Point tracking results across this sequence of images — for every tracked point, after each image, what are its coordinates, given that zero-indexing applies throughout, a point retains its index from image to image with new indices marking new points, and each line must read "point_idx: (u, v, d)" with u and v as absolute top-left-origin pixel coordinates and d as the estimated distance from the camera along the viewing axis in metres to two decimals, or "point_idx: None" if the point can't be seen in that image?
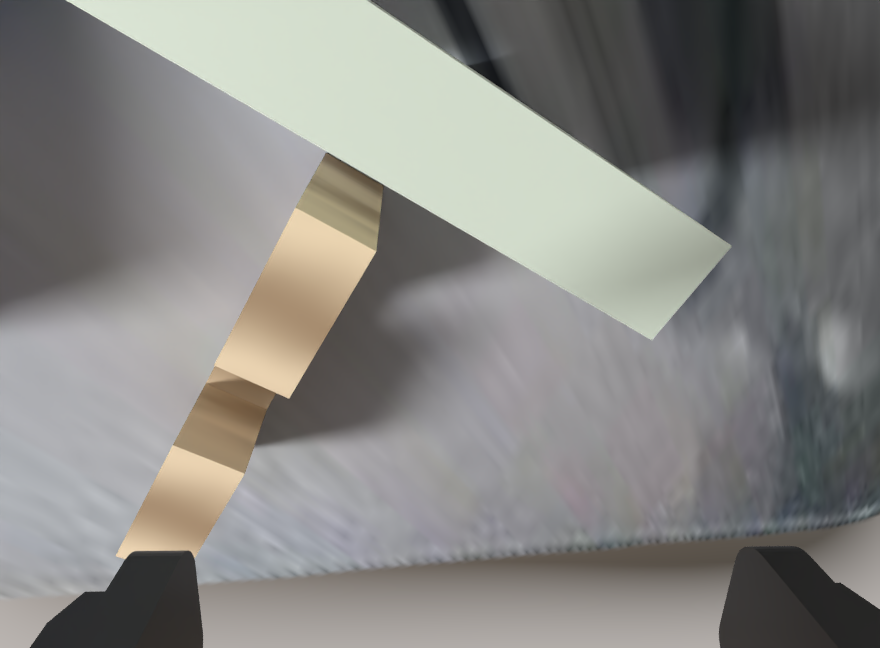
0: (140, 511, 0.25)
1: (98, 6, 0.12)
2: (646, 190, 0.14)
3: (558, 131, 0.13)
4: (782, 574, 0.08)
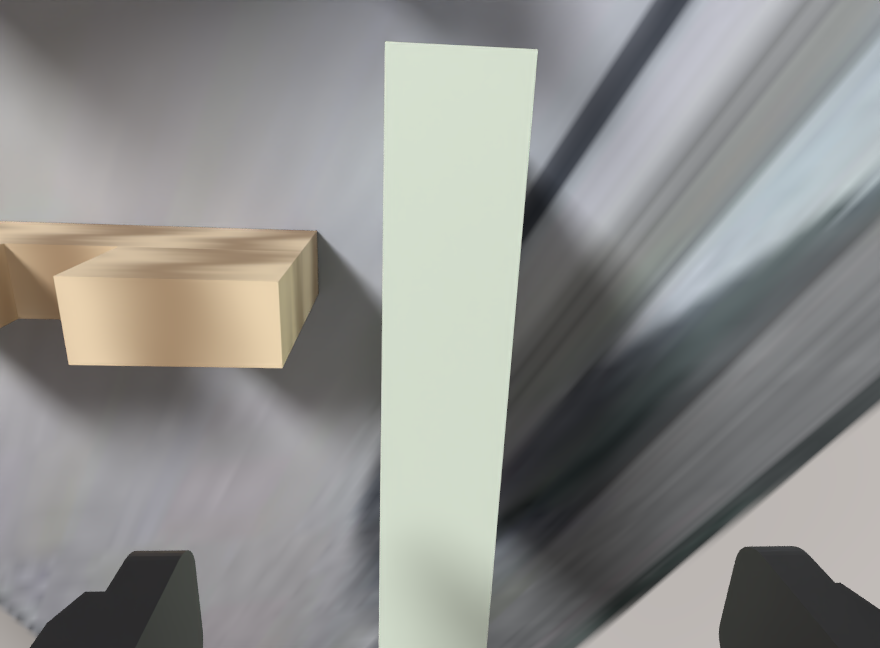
0: None
1: (394, 131, 0.12)
2: (490, 589, 0.16)
3: (496, 508, 0.15)
4: (782, 574, 0.08)
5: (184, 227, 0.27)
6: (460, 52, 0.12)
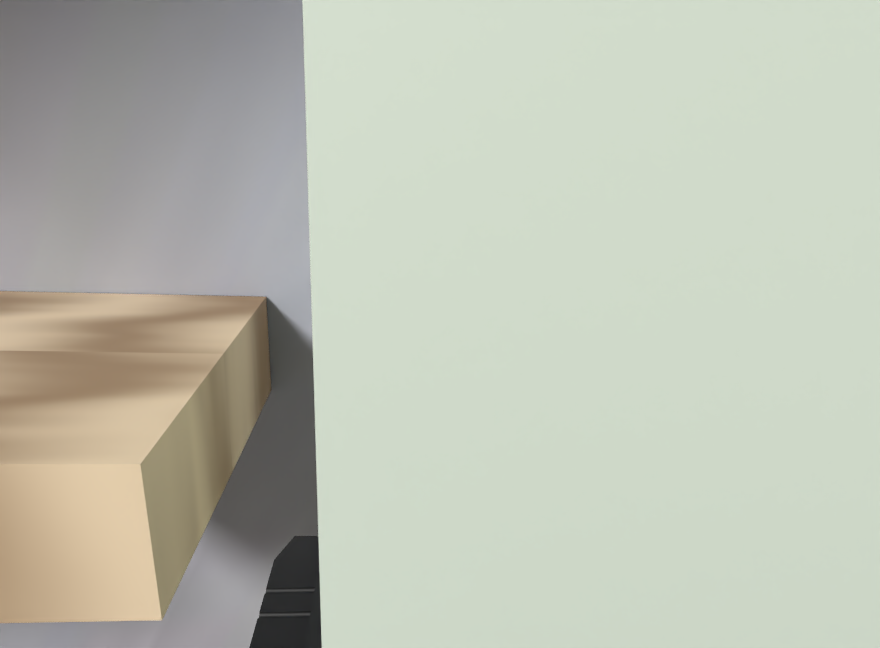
0: None
1: (369, 195, 0.02)
2: None
3: None
4: None
5: (52, 294, 0.17)
6: None
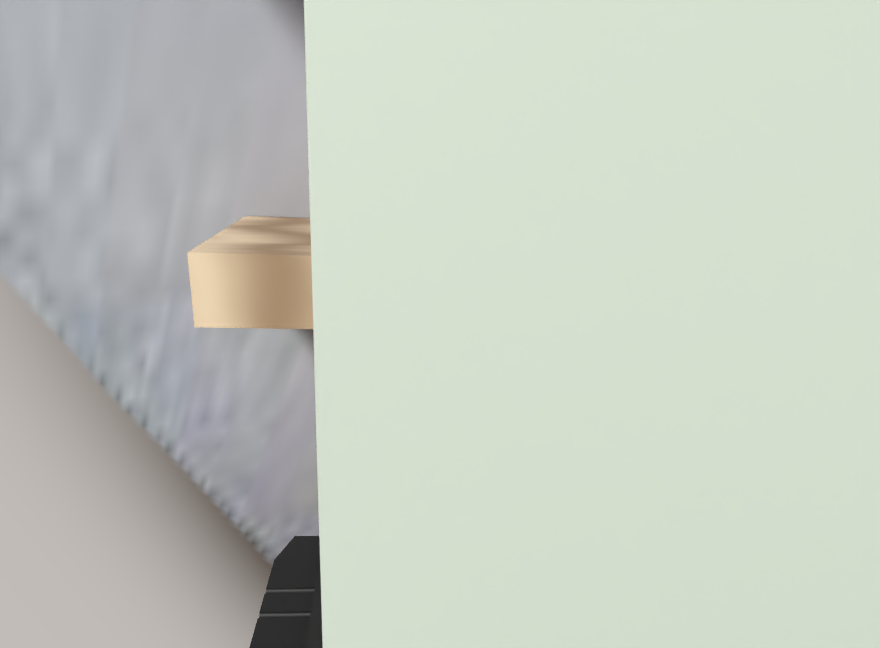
0: (267, 256, 0.23)
1: (370, 200, 0.02)
2: None
3: None
4: None
5: None
6: None
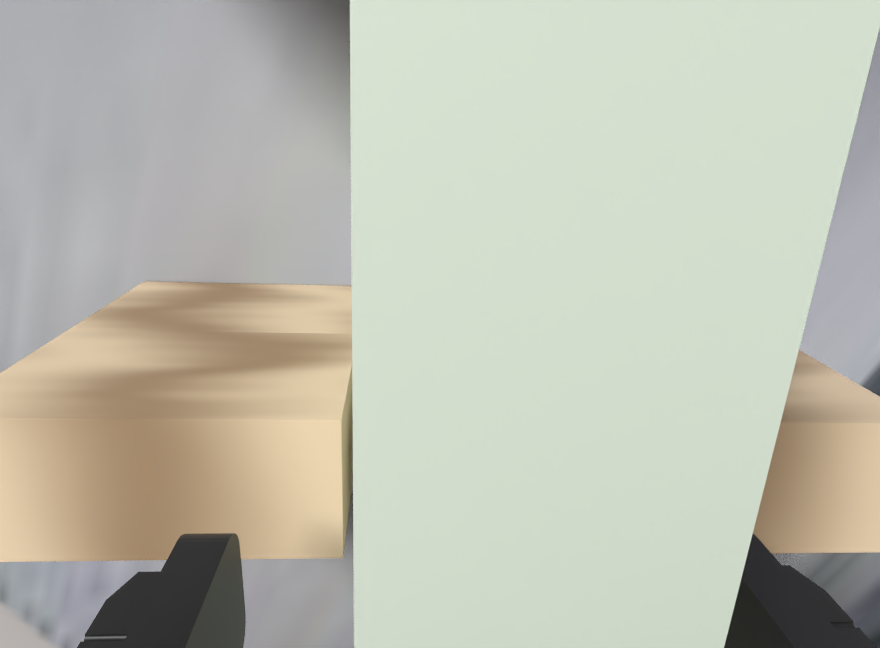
0: (112, 421, 0.10)
1: (387, 165, 0.03)
2: None
3: None
4: None
5: None
6: None
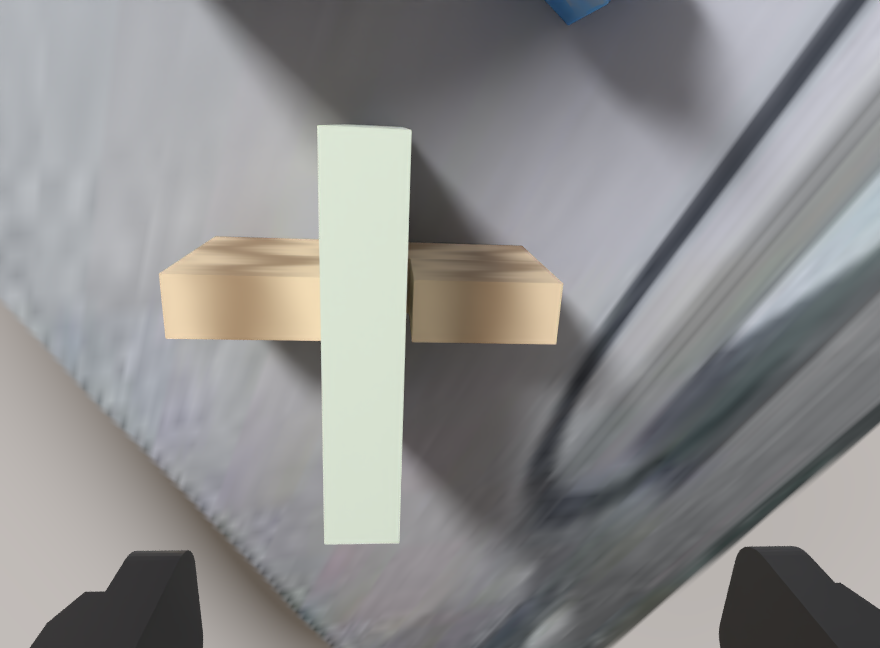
0: (229, 276, 0.26)
1: (324, 178, 0.20)
2: (400, 485, 0.23)
3: (401, 427, 0.23)
4: (783, 574, 0.08)
5: (425, 243, 0.35)
6: (363, 131, 0.19)
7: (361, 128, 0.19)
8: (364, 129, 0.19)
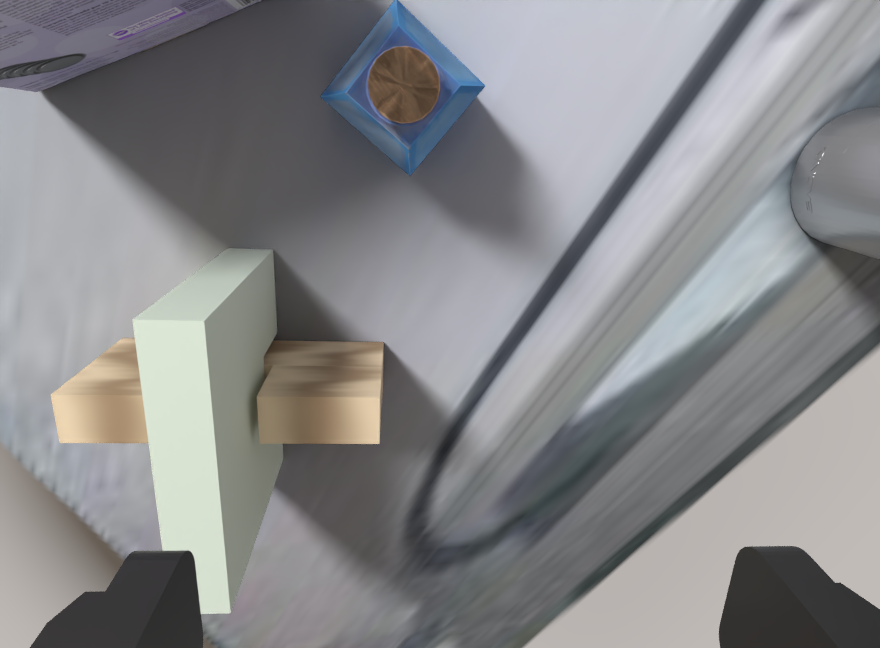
0: (107, 396, 0.33)
1: (142, 355, 0.26)
2: (226, 570, 0.30)
3: (222, 527, 0.29)
4: (782, 574, 0.08)
5: (299, 341, 0.42)
6: (168, 323, 0.26)
7: (166, 320, 0.26)
8: (168, 321, 0.26)
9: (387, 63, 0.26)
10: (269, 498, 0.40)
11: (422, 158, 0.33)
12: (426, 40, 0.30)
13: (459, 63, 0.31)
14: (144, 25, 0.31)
